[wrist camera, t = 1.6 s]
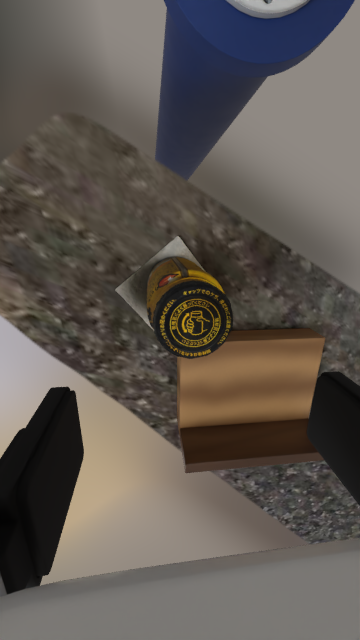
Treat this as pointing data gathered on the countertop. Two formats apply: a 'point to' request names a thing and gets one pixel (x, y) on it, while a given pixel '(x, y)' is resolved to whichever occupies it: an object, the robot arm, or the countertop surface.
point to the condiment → (180, 302)
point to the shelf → (249, 400)
